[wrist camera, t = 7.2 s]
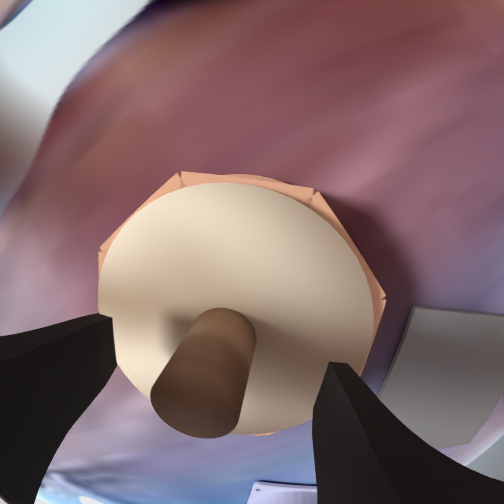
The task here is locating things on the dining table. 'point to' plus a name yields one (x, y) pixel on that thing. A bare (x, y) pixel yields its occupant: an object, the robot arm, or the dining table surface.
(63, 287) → the dining table surface
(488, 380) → the mat
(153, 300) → the lid
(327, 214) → the octagonal bowl
